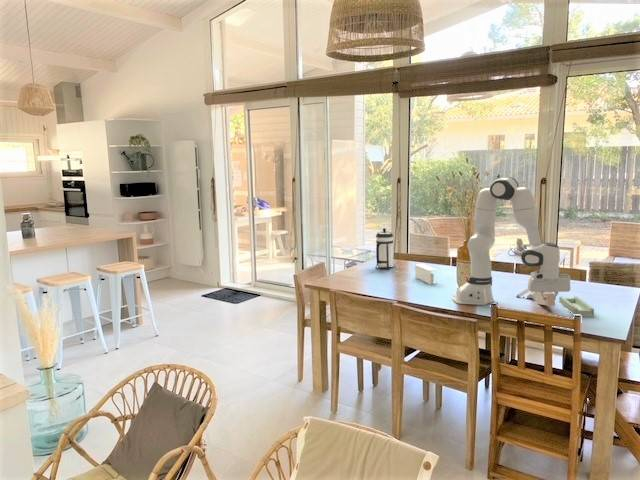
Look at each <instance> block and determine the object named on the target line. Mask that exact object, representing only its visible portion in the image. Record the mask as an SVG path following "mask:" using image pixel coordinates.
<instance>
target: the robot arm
mask: <svg viewBox="0 0 640 480" xmlns="http://www.w3.org/2000/svg"><path fill="white" fill-rule="evenodd" d="M500 200H503V201H510V202H511V205H512V206H511V207H512V210H513V212H512V213H513V217H514V219H515V221H516V223H517V224H518V225H520V226H522V227H523V228H524V229H525V231H526V235H527V239H528V243H529V244H528V245H529V247H528V248H527V249H526V250H524V251H523V252H522V253H521V257H520V259H521V262H522V264H523V265H525V266H526V267H529V268H530V267H540V269H537V270H535V271H532V272H530V278H529V280H528V283H527V289H529V291H531V292H540V294H541V296H542V300H546V299H545V298H546V297H545V296H543V294H544V292H549V293H552V292H553V294H555V301H556V299H557V298H556V297H557V296H558V294H559V293H560V292H564V293H569V292H570V291H571V280H572V279H571V275H570V274H568V273H560V266H559V265H560V257H561V255H560V254H561V253H560V248H559V245H558V244H556V243H553V242H543V240H542V235H541V231H540V227H539V224H538V223H539V222H538V214H537V213H538V212H537V206H536V203H535V202H536V201H535V199H534V196H533V192H532V191H531V189H530V188H528V187H519V182H518V181H517V180H516V179H515V178H513V177H510V176H507V177H506V176H505V177H500V178H498V179H495V180H494V181H493V182H492V183H491V184H490V187H486V188H482V189H481V190H480V191H479V192H478V195H477V198H476V203H475V210H474V216H473V222H474V235H472V236H470V238H469V239H468V240H467V241H468V242H467V245H466V247H467V250H468V253H469V260H470V275H467V274H466V275H465V277H464V278H465V279H466V282H465V283H464V284H462V285H460V286H459V287H458V288H457V291H456V294H455V295H453V296H452V301H453V302H454V303H455V304H459V305H460V304H462V305H474V306H475V305H479V306H485V305H488V304H491V303H493V302H494V300H495V299H494V296H493V289H492V285H493V276H492V261H491V256H490V249H492V248H493V247H494V245H495V241H496V238H495V236H496V235H495V234H496V232H495V231H496V230H495V229H496V228H495V226H496V224H495V223H496V216H497V210H498V209H497V208H498V202H499V201H500Z"/></svg>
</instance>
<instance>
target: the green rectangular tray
mask: <svg viewBox="0 0 640 480" xmlns="http://www.w3.org/2000/svg"><path fill="white" fill-rule="evenodd" d="M558 299H559V300H558V303H561V304H562V305H563V306H564V307H565V308H567V309H568V310H569V311H571V312H572V313H573V314H581V315H582V317H583V316H587V317H588V318H589V317H594V314H595V309H594V307H592V306H591V305H589V304H588V303H587V302H586V301H584V300H582V299H581V298H580V297H578V295H575V296H573V297H565V296H561V295H559V297H558ZM561 304H560V305H561ZM562 305H561V306H562ZM563 306H562V307H563ZM564 307H563V308H564ZM565 308H564V309H565ZM568 310H567V311H568ZM569 311H568V312H569Z"/></svg>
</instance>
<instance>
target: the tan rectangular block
mask: <svg viewBox="0 0 640 480" xmlns="http://www.w3.org/2000/svg"><path fill="white" fill-rule="evenodd" d="M543 296H545V297H546V298H545V299H546V300H542V296H541V294H540V293H538V300H537V304H538V303H539V304H538V305H542V306H547V307H548V306H550V307H551V306H552V307H555V306H556V300H555V293H551V292H549V293H544V294H543Z"/></svg>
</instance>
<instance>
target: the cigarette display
mask: <svg viewBox="0 0 640 480" xmlns="http://www.w3.org/2000/svg"><path fill="white" fill-rule="evenodd" d="M414 271H415V274H414V275H415V276H414V278H415V279H418V280H420V281H421V282H424V283H426V284H428V285H433V284H437V282H435V281H434V275H435V274H434V273H432V272H433V271H437V269H436V268H434V267H433V266H432V267H431V266H429V265H426V264H424V263H418V264H417V263H416V264H415V265H414ZM431 271H432V272H431Z"/></svg>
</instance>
